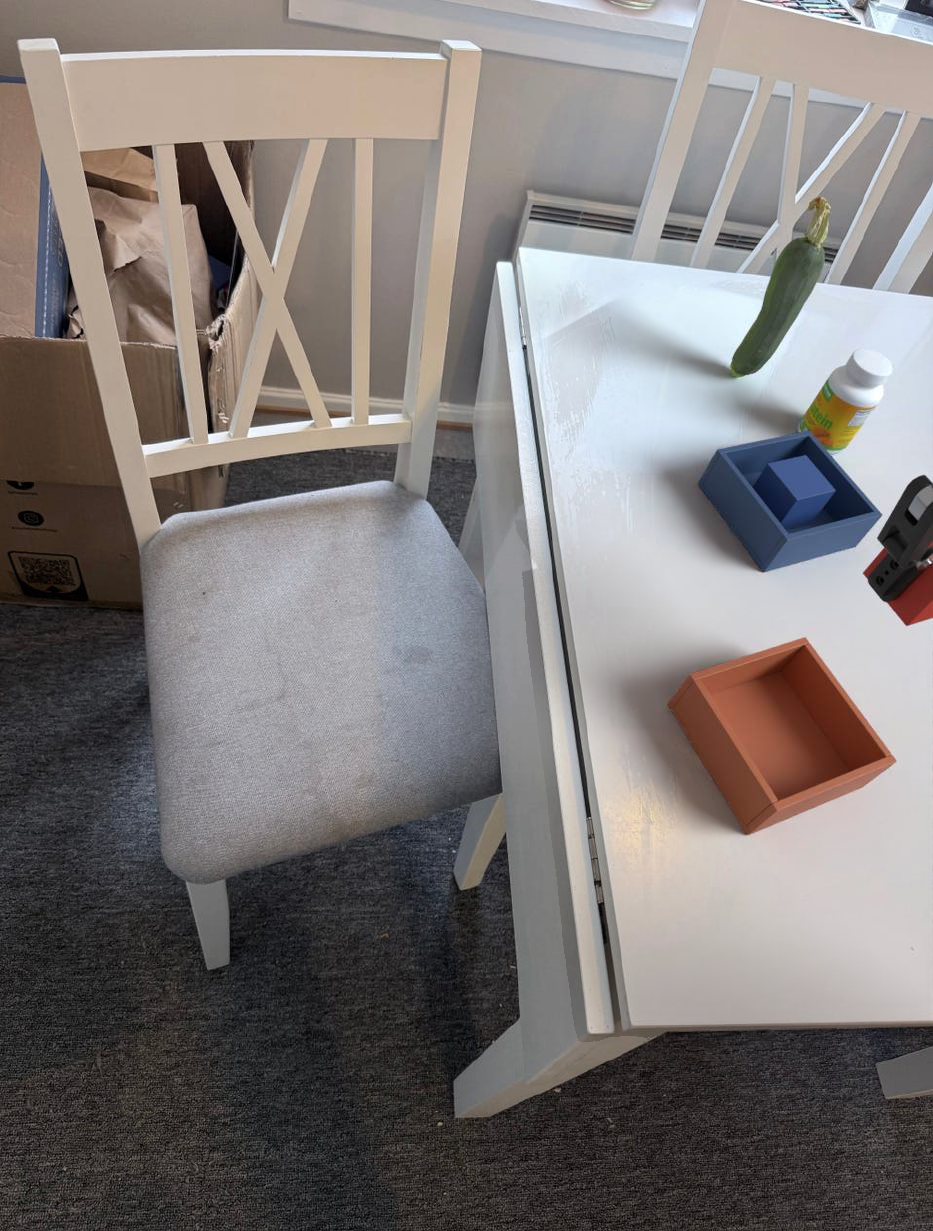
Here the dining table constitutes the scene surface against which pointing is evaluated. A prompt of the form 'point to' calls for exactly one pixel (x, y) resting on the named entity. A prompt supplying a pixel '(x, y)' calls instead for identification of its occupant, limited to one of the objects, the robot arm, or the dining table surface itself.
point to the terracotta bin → (778, 733)
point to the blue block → (793, 491)
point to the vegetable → (785, 293)
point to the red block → (911, 595)
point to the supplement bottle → (847, 400)
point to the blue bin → (758, 526)
